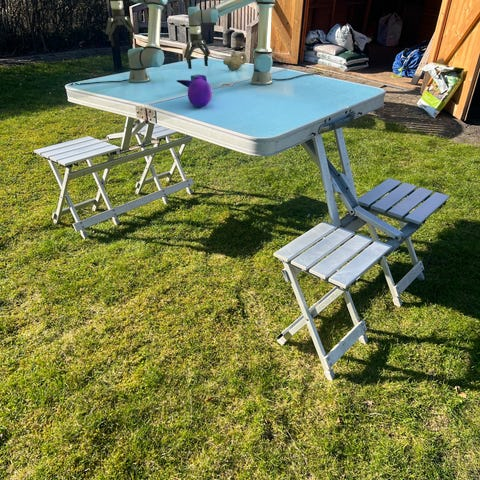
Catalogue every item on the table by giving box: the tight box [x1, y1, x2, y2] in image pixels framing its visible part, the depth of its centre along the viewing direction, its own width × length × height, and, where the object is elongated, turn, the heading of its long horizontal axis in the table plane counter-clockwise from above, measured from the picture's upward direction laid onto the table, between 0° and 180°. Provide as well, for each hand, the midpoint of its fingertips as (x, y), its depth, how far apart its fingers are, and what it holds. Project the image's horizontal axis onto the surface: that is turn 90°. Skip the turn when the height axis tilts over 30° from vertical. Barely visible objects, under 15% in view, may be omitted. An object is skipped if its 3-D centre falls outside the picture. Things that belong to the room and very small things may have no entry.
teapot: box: [222, 50, 247, 72], centre depth 367 cm, size 21×12×15 cm, turn 120°
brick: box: [190, 73, 201, 81], centre depth 311 cm, size 7×9×8 cm
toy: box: [176, 74, 214, 108], centre depth 269 cm, size 16×18×27 cm
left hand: (122, 45), depth 292 cm, fingers open, 13 cm apart
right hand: (198, 67), depth 306 cm, fingers open, 13 cm apart
